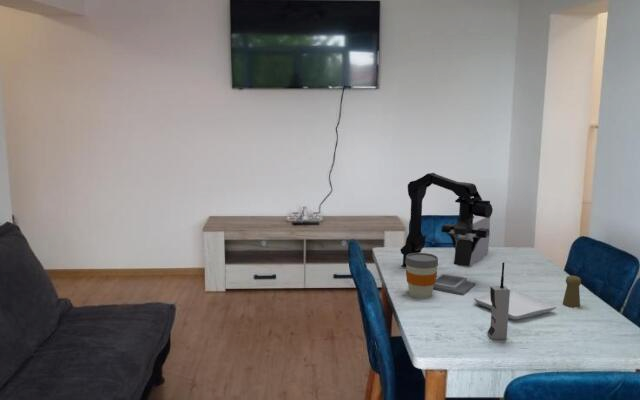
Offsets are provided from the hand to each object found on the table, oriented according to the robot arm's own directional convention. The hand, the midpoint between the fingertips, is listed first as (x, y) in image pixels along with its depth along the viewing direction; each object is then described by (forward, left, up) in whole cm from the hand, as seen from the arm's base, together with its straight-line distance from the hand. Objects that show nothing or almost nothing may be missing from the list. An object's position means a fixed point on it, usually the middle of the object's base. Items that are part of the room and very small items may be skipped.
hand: (464, 250), depth 237 cm
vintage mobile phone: (+29, -51, -13) cm, 60 cm away
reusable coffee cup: (-8, -26, -13) cm, 30 cm away
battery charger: (-1, 0, -6) cm, 6 cm away
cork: (+44, -6, -13) cm, 46 cm away
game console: (-6, +33, -13) cm, 36 cm away
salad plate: (+27, -22, -14) cm, 37 cm away
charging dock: (-2, -11, -13) cm, 17 cm away
